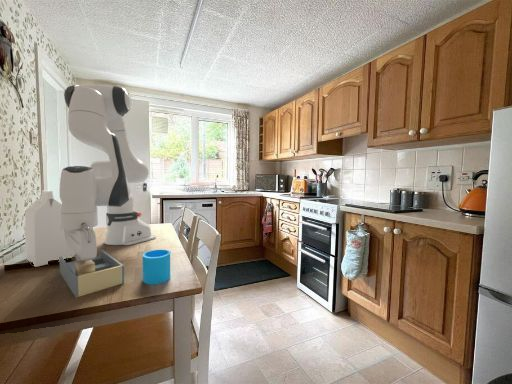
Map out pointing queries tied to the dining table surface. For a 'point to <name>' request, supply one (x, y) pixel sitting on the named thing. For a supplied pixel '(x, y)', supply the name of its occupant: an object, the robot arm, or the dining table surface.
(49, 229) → the milk
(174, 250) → the dining table surface
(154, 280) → the mug
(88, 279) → the box
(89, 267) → the block
